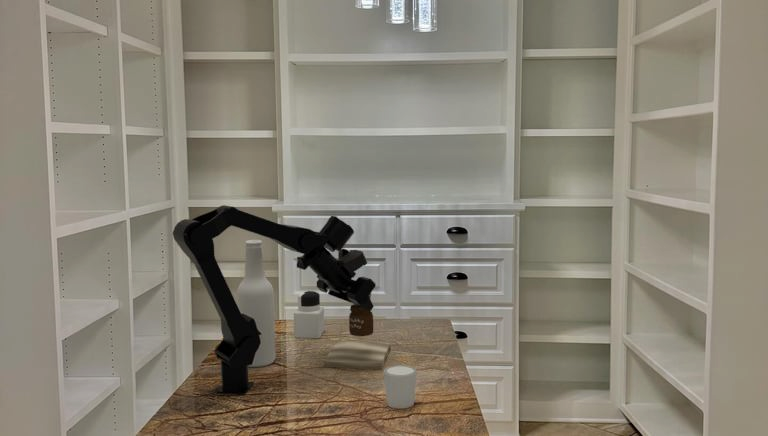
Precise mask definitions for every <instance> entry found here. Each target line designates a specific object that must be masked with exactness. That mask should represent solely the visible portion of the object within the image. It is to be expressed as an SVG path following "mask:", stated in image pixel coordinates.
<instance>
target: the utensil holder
mask: <svg viewBox="0 0 768 436" xmlns="http://www.w3.org/2000/svg"><path fill="white" fill-rule="evenodd" d="M371 296H372V292H371V293H370V294H369V297H370V299H372V298H371ZM349 311H350V313H349V316H348V328H349V334H350V335H351V336H355V337H368V336H371V335H372V334H373V333H374V315H373V312H372V310H370V309H367V308H365V307H362V306H359V305H357V304H353V303H352V304H351V305H350V307H349Z"/></svg>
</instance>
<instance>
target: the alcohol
mask: <svg viewBox="0 0 768 436" xmlns="http://www.w3.org/2000/svg"><path fill="white" fill-rule="evenodd" d="M244 244H245V246H244V248H245V260H244V261H245V262H244V264H245V265H244V277H243V280H242V281H241V282H240V284H239V285H238V287H237V291H236V304H237V306H238V308H239V310H240V313H241V314H242V313H243V314H245V315H247V316H249V317H251V318H253V319H254V320H255V322H256V326H257V329H258V331H259V332H260V333H261V335H259V337H260V340H261V344H260V346H259V349H258V350H257V352H256V353H255V357H254V360H253V363H252V365H248V368H261V367H267V366H270V365H272V364H273V363H274V362H275V360H276V357H277V356H276V353H277V352H276V328H275V326H276V325H275V322H276V321H275V294H274V293H275V292H274V289H273V288H274V287H273V285H272V283H271V282H270V281H269V280H268V279H267V277H266V274H265V268H264V267H265V266H264V257H263V249H262V248H263V245H262V244H263V241H262V240H261V239H250V240H248V239H247V240H246V241H245V242H244Z"/></svg>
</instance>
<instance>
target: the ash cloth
mask: <svg viewBox="0 0 768 436" xmlns="http://www.w3.org/2000/svg"><path fill="white" fill-rule="evenodd" d="M390 350H391V342H381V341H380V342H379V341H378V342H377V341H376V342H375V341H349V340H348V341H347V340H345V341H343V340H342V341H341V340H337V341H336V343H334V345H333V346H332V348H331V349H330V351H329V352H328V353H327V355H326V357H325V358H324V360H323V368H333V367H336V368H337V369H339V368H340V369H363V370H366V369H367V370H383V367H384V365H385V362H386V360H387V357H388V355H389V353H390Z"/></svg>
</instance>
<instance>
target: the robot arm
mask: <svg viewBox="0 0 768 436" xmlns="http://www.w3.org/2000/svg"><path fill="white" fill-rule="evenodd" d="M230 227H235V228H238V229H241V230H244V231H246V232H249V233H253V234H256V235H258V236H262V237H264V238H268V239H270V240H272V241H274V242H275V243H277V245H280V246H282V247H283V248H285V249H287V250H289V251H292V252H296V253H298V254H302V255H301V256H296V257H297V258H296V259H297V262H296V268H297V269H300V270H304V271H306V270H307V269H308V267H309V268H310V269H311V271H313V272H314V273H315V274H316V278H317V281H316V288H317V289H318V290H319V291H320V292H322V293H324V294H327V293H328V295H329V296H332V297H335V298H337V299H340V300H343V301H346V302H348V303H350V304H352V305H353V304H357V305H359V306H362V307H365V308H367V309H370V310H371V311H372V309H373V308H374V303H373V301H372V300H371V299H372V298H370V297H369V294H370V293H371V294H372V291H373V290H374V289H375V288H376V286H377V285H376V283H375V281H373V279H372V278H369V277H365V276H359V277H357V279H354V278H355V276H356V274H357V273H356V271H358V270H359V269H361V268H362V267H363V266H366V265H368V261H367V259H366V256H365V253H364V252H363V250H358V249H350V250H348V249H345V248H344V246H345V245H346V244H347V242H348V241H349V240H350V239H351V238H352V237H353V234H355V231H354V229H353V228H352V226H351V225H350V224H347V223H346V222H344V221H343V220H342V219H340V218H338V216H336V215H331V216H330V217H329V218H328V220H327V222H326V223H325V224H324V225H323V227H322V228H321V229H320V230H319V231H315V230H312V229H310V228H306V227H301V226H298V225H297V226H296V225H292V224H291V225H289V224H281V223H277V222H275V221H272V220H269V219H266V218H263V217H260V216H257V215H254V214H251V213H249V212H245V211H242V210H241V209H238V208H236V207H234V206H230V205H225V204H224V205H220V206H218V207H216V208H214V209H213V210H211V211H208V212H205V213H203V214H200V215H197V216H195V217H194V218H192V219H190V218H187V219H181V220H180V221H178V222H177V223H176V225H175V226H174V228H173V231H172V236H173V239H174V240H175V242H176V244H177V246H178V247H179V248H180V250H181V251H182V252H183V254H185V255H186V256H187V257H188V259H190V261H191V262H192V263H193V265H194V267H195V269H196V271H197V272H198V275H199V277H200V279H201V281H202V283H203V285H204V287H205V289H206V292H207V294H208V296H209V298H210V301H211V302H212V304H213V305H214V308H215V310H216V312H217V314H218V316H219V318H220V327H221V328H220V330H221V333H222V338H223V339H222V340H221V341H220V342H219V344H218V345H217V346H216V348H214V355H215V357H216V359H218V360H220V361H221V362H220V370H221V371H220V372H221V386H220V387H219V388H217V389H216V391H215V393H216V394H224V395H225V394H227V395H228V394H229V395H246V394H247V393H248V391H249V390H250V389H251V388H252V387H253V386H254V385H255V382H254V381H249V367H248V365H252V363H253V360H254V357H255V353H256V352H257V350H258V349H259V346H260V344H261V340H260V337H259V335H261V333H260V332H259V331H258V329H257V326H256V322H255V320H254V319H253V318H251V317H249V316H247V315H245V314H243V313H242V314H241V313H240V310H239V308H238V306H237V301H236V300H235V297H234V295H233V293H232V291H231V289H230V287H229V285H228V282H227V280H226V278H225V276H224V274H223V272H222V270H221V268H220V265H219V264H218V261H217V259H216V256H215V243H214V240H213V239H215V238H217V237H218V236H220V235H221V234H222V233H223V232H225V231H226V230H227V229H228V228H230ZM335 251H337V253H338V255H337V256H338V257H337V258H338V259H337V258H336V257H335V256H334V255H332V253H334V252H335ZM331 252H332V253H331Z"/></svg>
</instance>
